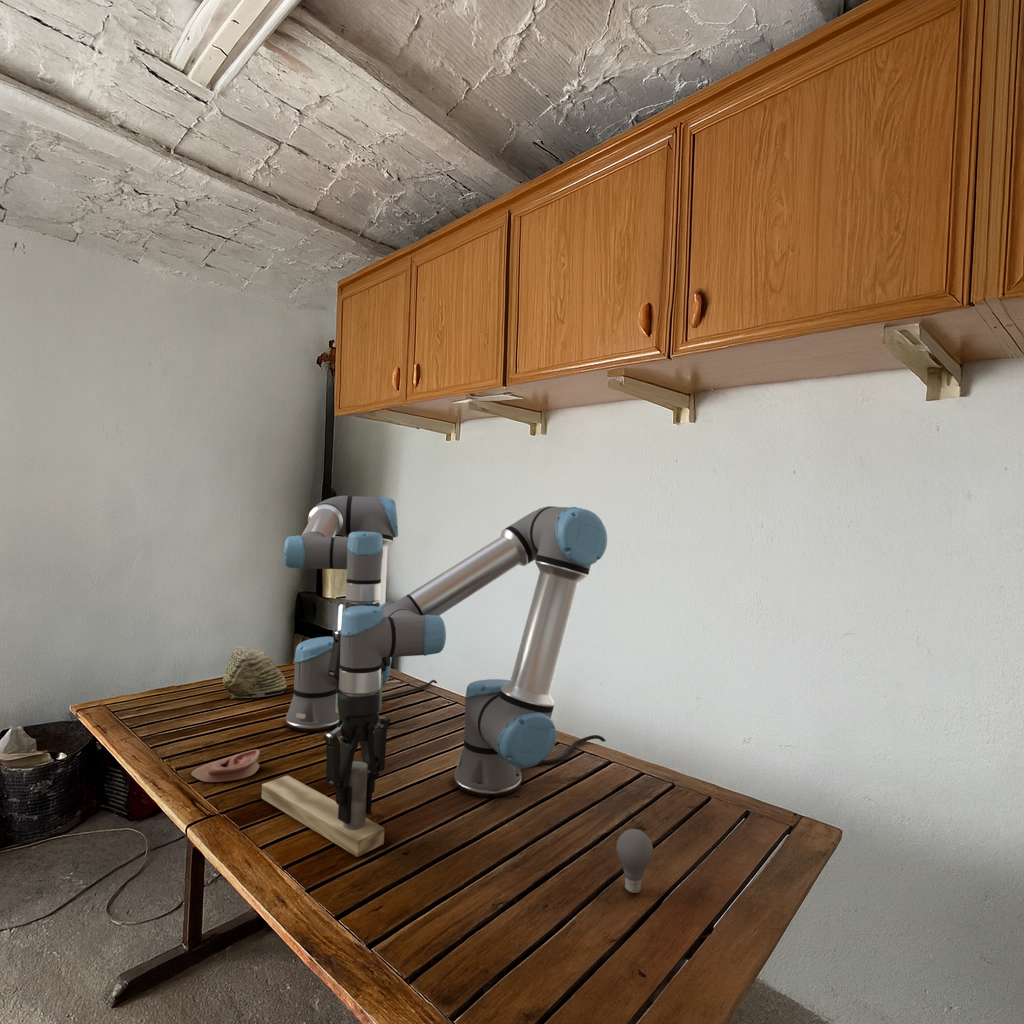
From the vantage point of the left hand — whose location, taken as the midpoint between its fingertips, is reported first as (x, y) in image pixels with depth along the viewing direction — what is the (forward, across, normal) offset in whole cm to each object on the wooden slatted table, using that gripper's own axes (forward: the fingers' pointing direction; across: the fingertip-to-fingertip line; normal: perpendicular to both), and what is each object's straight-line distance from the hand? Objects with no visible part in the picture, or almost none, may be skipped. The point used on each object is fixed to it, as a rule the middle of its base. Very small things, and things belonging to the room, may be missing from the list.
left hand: (358, 703), depth 141 cm
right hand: (+13, +15, +19) cm, 27 cm away
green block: (+2, 0, 0) cm, 2 cm away
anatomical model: (+18, +17, -25) cm, 35 cm away
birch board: (+18, +15, +8) cm, 25 cm away
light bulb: (+18, -7, +65) cm, 68 cm away
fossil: (+18, -16, -72) cm, 75 cm away
